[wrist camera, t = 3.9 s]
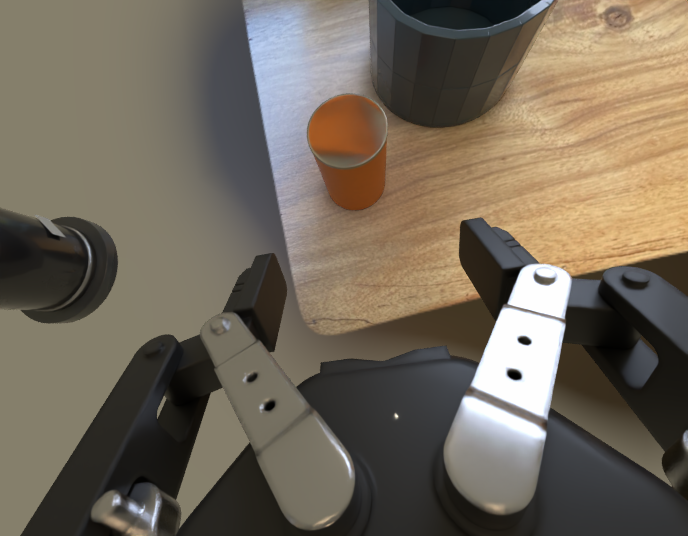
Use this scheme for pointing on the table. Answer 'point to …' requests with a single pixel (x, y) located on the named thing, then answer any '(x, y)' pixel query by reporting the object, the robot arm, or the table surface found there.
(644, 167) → the table surface
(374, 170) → the orange tin
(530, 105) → the table surface
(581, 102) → the table surface
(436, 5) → the pot
